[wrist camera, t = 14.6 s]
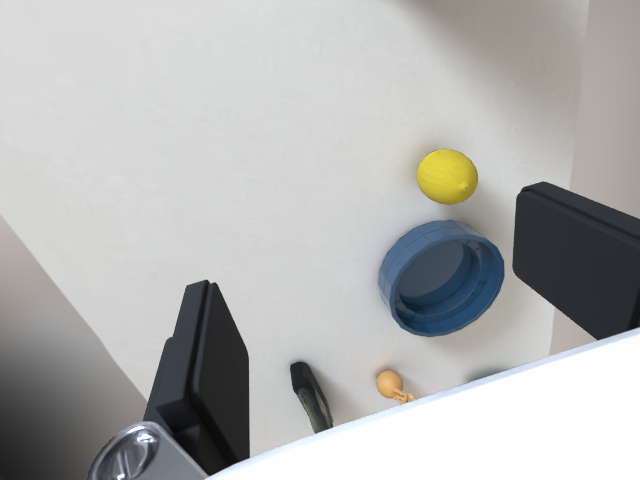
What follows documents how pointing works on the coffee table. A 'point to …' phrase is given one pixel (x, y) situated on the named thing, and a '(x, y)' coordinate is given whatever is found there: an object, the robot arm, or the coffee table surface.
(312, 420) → the dark piece
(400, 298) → the bowl
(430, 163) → the lemon
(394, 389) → the figurine
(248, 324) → the coffee table surface
